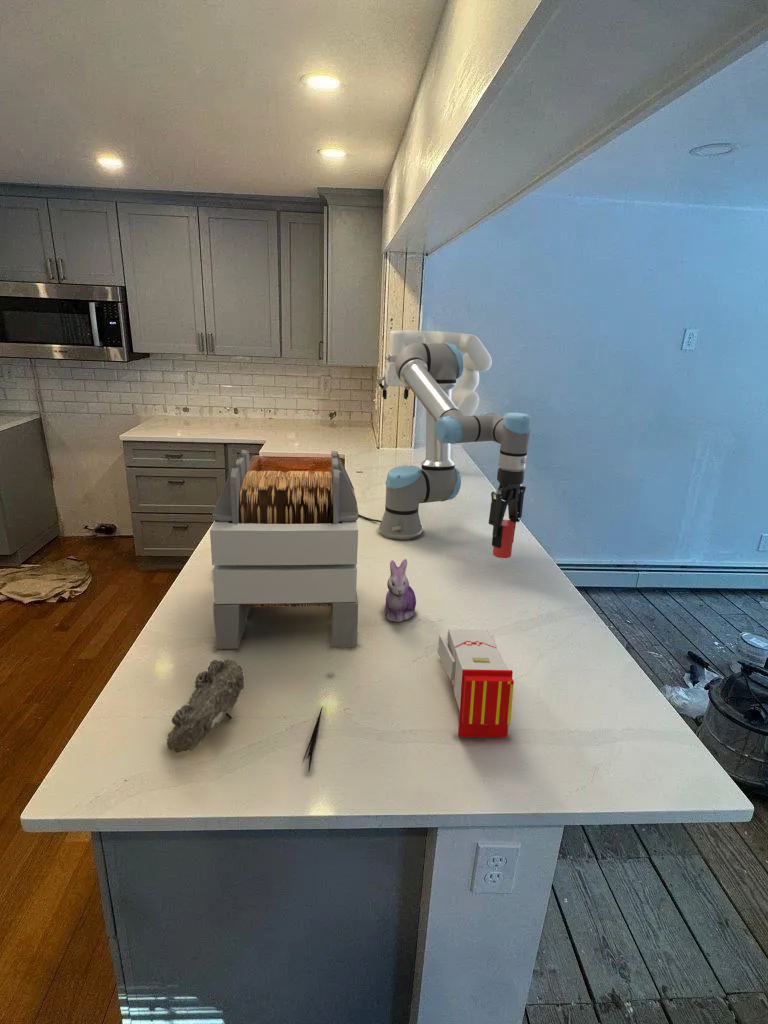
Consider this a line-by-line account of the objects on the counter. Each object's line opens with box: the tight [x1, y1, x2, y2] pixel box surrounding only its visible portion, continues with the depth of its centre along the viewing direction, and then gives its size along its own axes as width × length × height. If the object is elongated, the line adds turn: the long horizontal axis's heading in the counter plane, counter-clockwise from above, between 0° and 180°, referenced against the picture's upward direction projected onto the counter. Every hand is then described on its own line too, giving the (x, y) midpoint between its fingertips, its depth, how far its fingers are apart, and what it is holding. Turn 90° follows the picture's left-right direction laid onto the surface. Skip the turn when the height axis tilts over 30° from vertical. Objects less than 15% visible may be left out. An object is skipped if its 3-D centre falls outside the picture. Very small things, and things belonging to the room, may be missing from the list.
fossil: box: [166, 658, 245, 754], centre depth 106 cm, size 22×10×15 cm
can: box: [492, 519, 516, 559], centre depth 168 cm, size 6×6×10 cm
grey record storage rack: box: [209, 449, 360, 651], centre depth 139 cm, size 34×33×41 cm
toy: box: [437, 628, 515, 738], centre depth 117 cm, size 12×13×30 cm
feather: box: [301, 673, 332, 771], centre depth 108 cm, size 2×28×2 cm
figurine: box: [384, 558, 417, 623], centre depth 145 cm, size 9×10×15 cm
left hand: (502, 543), depth 169 cm, fingers closed on can, 5 cm apart
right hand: (395, 398), depth 255 cm, fingers open, 9 cm apart
